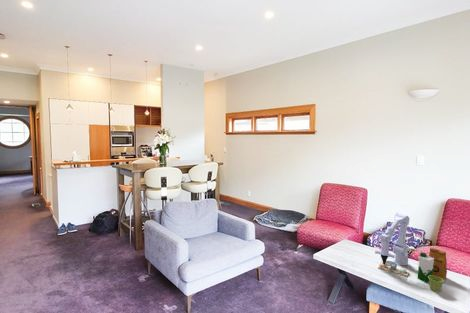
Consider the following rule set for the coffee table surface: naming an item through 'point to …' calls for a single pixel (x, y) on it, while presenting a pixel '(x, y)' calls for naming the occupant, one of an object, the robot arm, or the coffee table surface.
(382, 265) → the button terracotta
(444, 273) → the coffee package
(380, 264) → the button panel
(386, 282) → the coffee table surface
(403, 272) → the button sage
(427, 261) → the milk carton
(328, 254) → the coffee table surface
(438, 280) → the plant pot
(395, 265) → the button grey
